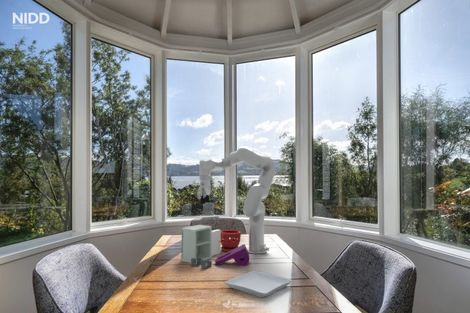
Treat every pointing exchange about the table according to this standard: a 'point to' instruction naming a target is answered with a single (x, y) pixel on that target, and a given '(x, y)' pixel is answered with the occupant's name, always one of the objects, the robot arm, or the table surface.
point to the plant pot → (230, 243)
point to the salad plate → (258, 283)
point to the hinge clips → (201, 263)
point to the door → (216, 242)
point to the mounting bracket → (235, 256)
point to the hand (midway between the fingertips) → (205, 203)
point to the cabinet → (196, 243)
